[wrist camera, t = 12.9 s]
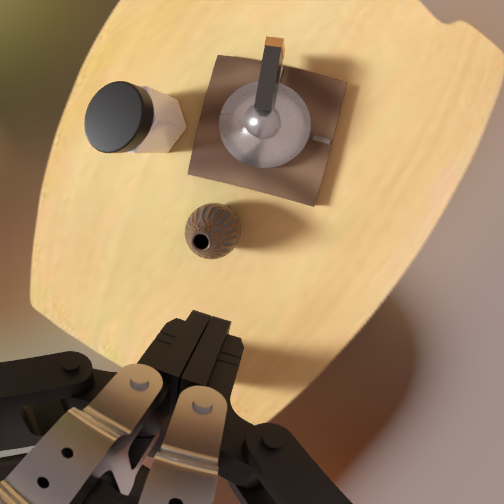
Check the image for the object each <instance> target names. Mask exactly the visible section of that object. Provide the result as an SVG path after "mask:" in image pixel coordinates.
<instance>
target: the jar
mask: <svg viewBox="0 0 504 504" xmlns="http://www.w3.org/2000/svg"><path fill="white" fill-rule="evenodd" d="M186 128H187V126H186V123H185V120H184V117H183V114H182V111H181V108H180V105H179V102H178V100H177V99H175V98H173V97H170V96H168V95H166V94H164V93H161V92H159V91H157V90H154V89H152V88H150V87H147V86H136V85H134V84H131V83H128V82H124V81H117V82H112V83H110V84H108V85H106V86H104V87H103V88H101V89H100V90H99V91H98V92H97V93H96V94H95V96H94V97H93V98H92V100H91V102H90V103H89V106H88V108H87V111H86V115H85V132H86V136H87V138H88V140H89V142H90V144H91V145H92V146H93V147H94V148H95V149H97V150H98V151H100V152H104V153H123V152H128V153H168V152H169V150H170V149H171V148H172V146H173V145H174V144H175V142H176V141H177V140H178V139H179V137H180V136H181V135H182V133H183V132H184V131H185V130H186Z"/></svg>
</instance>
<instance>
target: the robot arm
mask: <svg viewBox="0 0 504 504" xmlns="http://www.w3.org/2000/svg"><path fill="white" fill-rule="evenodd" d="M230 325H231V321H227V320H224V319H221V318H217V317H214V316H211V315H207V314H204V313H201V312H198V311H195V310H193V311H192V312H191V314H190V315H189V317H188V318H187V320H186V321H184V320H181V319H178V318H175V319H174V320H172V321H170V322H168V323H166V324H165V326H164V327H163V328H162V330H161V331H160V333H159V334H158V335H157V337H156V338H155V340H154V341H153V342H152V343H151V345H150V346H149V347H148V349H147V350H146V352H145V353H144V354H143V356H142V357H141V359H140V360H139V361H138V363H137V364H131V365H127V366H125V367H123V368H122V369H121V370H120V371H119V372H108V371H102V370H97V369H93V368H92V364H91V361H90V360H89V359H88V357H86V356H85V355H83V354H81V353H79V352H73V351H67V352H62V353H56V354H50V355H44V356H39V357H33V358H27V359H20V360H14V361H8V362H0V451H3V450H10V449H17V448H23V447H28V446H34V445H35V446H34V447H33V448H32V450H31V451H30V452H29V453H24V454H19V455H13V456H7V457H2V458H0V504H213V499H214V494H215V488H216V482H217V476H218V475H220V476H221V477H223V478H225V479H227V480H228V484H229V485H230V487H231V489H232V490H233V492H234V493H235V495H236V497H237V498H238V500H239V501H240V503H241V504H352V503H351V502H350V500H348V498H347V497H346V496H345V495H344V494H343V493H342V492H341V491H340V490H339V489H338V488H337V486H336V485H335V484H334V483H333V482H332V481H331V480H330V479H329V477H328V476H327V475H326V474H325V473H324V472H323V471H322V469H321V468H320V467H319V466H318V465H317V464H316V463H315V461H314V460H313V459H312V458H311V457H310V455H309V454H308V453H307V452H306V451H305V450H304V448H303V447H302V446H301V445H300V443H299V442H298V441H297V440H296V438H295V437H294V436H293V435H292V434H291V433H290V431H288V430H287V429H286V428H284V427H282V426H280V425H277V424H272V423H262V424H258V425H256V426H254V425H253V424H251V423H249V422H247V421H245V420H244V419H242V418H241V417H239V416H238V415H237V414H236V413H235V412H234V410H233V409H232V406H231V403H230V396H231V392H232V389H233V385H234V382H235V378H236V375H237V371H238V367H239V364H240V360H241V357H242V353H243V349H244V347H243V343H242V340H241V338H239V337H236V336H232V335H229V334H228V333H229V329H230ZM48 401H49V402H48ZM147 456H148V457H152V458H154V459H153V462H152V465H151V468H150V469H149V468H147V467H146V466H144V465H142V464H143V462H144V461H145V459H146V457H147Z"/></svg>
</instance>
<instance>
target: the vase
mask: <svg viewBox="0 0 504 504" xmlns="http://www.w3.org/2000/svg"><path fill="white" fill-rule="evenodd" d="M240 234H241V226H240V222H239V219H238V217H237V215H236V214H235V213H234V211H233V210H231V209H230V208H229V207H227V206H225V205H222V204H218V203H210V204H206V205H203V206H201V207H199V208H197V209H196V210H195V211H194V212H193V213H192V214H191V215H190V217H189V218H188V220H187V223H186V227H185V238H186V242H187V244H188V246H189V248H190V249H191V250H192V251H193V252H194V253H195V254H196V255H198V256H200V257H203V258H206V259H217V258H221V257H223V256H225V255H227V254H228V253H230V252H231V251H232V250H233V249H234V248H235V246H236V245H237V243H238V241H239V238H240Z"/></svg>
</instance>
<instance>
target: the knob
mask: <svg viewBox="0 0 504 504" xmlns="http://www.w3.org/2000/svg"><path fill="white" fill-rule="evenodd" d="M284 52H285V49H284V39H283V38H275V37H266V40H265V49H264V54H263V59H262V65H261V70H260V76H259V81H257V82H253V83H249V84H247V85H244V86H242V87H241V88H239V89H237V90H236V91H235V92H234V93H233V94H232V95H231V96H230V97H229V98H228V99H227V101H226V102H225V104H224V106H223V108H222V110H221V114H220V118H219V131H220V136H221V139H222V141H223V143H224V145H225V147H226V148H227V150H228V151H229V152H230V153H231V154H232V155H233V156H234V157H235V158H236V159H238V160H239V161H241V162H243V163H245V164H247V165H250V166H253V167H258V168H271V167H277V166H280V165H283V164H285V163H287V162H289V161H291V160H292V159H293V158H295V157H296V156H297V155H298V154H299V153H300V152H301V151H302V149H303V148H304V146H305V145H306V143H307V141H308V138H309V135H310V129H311V119H310V114H309V111H308V108H307V106H306V104H305V102H304V101H303V99H302V98H301V97H300V96H299V95H298V94H297V93H296V92H295V91H294V90H292V89H291V88H289V87H288V86H285V85H283V84H281V83H279V79H280V73H281V67H282V62H283V58H284Z"/></svg>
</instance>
